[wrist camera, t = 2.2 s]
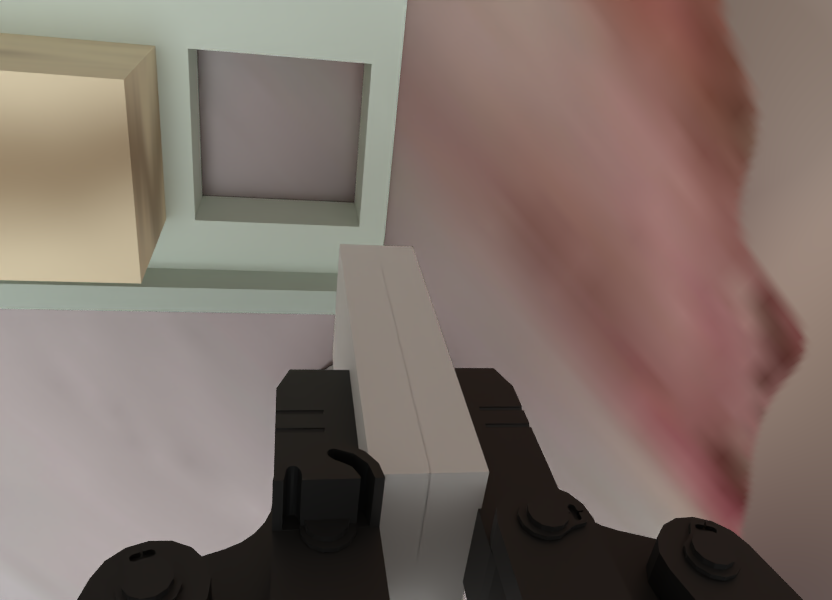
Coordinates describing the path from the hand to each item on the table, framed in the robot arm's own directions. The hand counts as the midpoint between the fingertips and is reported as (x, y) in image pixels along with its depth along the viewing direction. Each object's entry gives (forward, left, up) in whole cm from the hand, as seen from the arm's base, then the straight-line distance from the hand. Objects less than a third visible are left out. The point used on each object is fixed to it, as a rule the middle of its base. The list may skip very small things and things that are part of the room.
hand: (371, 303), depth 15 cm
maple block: (0, +9, -12) cm, 15 cm away
